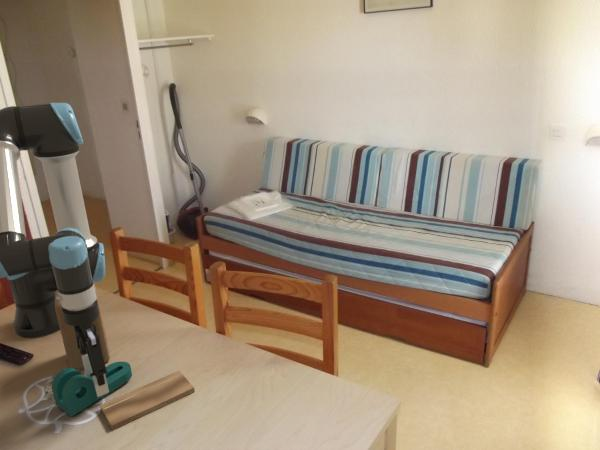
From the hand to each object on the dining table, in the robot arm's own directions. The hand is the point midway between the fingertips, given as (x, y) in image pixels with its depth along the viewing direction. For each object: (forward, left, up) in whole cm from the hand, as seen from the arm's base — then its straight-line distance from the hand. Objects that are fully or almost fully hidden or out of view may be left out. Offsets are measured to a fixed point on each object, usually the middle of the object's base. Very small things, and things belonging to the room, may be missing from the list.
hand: (97, 384), depth 126 cm
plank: (+11, +8, -2) cm, 14 cm away
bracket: (0, 0, -2) cm, 2 cm away
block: (-16, +2, -2) cm, 16 cm away
